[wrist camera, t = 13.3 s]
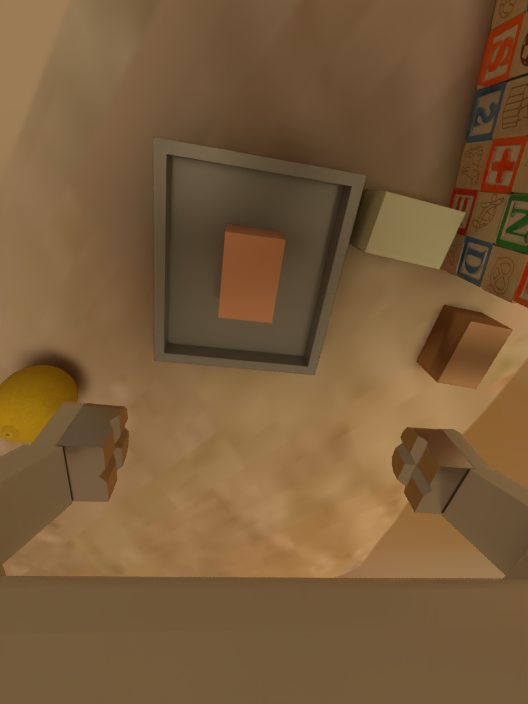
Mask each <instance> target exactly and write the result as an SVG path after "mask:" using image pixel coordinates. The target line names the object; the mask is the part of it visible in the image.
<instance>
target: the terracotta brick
mask: <svg viewBox="0 0 528 704" xmlns="http://www.w3.org/2000/svg"><path fill="white" fill-rule="evenodd" d="M285 241H286V240H285V239H284V237H283V236H282V235H281V233H280V232H279V231H273V230H266V229H259V228H252V227H245V226H238V225H230V224H227V225H226V231H225V241H224V253H223V265H222V277H221V289H220V301H219V313H218V318H228V319H237V320H247V321H257V322H267V323H272V320H273V314H274V308H275V302H276V296H277V290H278V284H279V278H280V271H281V265H282V259H283V253H284V247H285Z"/></svg>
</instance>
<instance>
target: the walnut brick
mask: <svg viewBox="0 0 528 704" xmlns="http://www.w3.org/2000/svg"><path fill="white" fill-rule="evenodd" d="M511 332H512V329H510V328H509V327H507V326H505V325H503V324H501V323H500V322H498V321H496V320H494V319H492V318H490V317H489V316H487V315H485V314H483V313H480V312H476V311H471V310H466V309H461V308H457V307H452V306H447V305H444V307H443V309H442V311H441V313H440V315H439V317H438V319H437V321H436V323H435V325H434V327H433V329H432V331H431V333H430V335H429V337H428V339H427V341H426V343H425V345H424V347H423V349H422V351H421V353H420V355H419V357H418V359H417V362H418V363H419V364H420V365H421V366H422V367H423V368H424V369H425V370H426V371H427V372H428V373H429V374H430V375H431V376H432V377H433V378H434V379H435V381H436V382H437V383H443V384H450V385H456V386H462V387H468V388H474V389H476V388H477V387H478V385H479V383H480V382H481V380H482V379H483V377H484V375H485V374H486V372H487V371H488V369H489V367H490V366H491V364H492V362H493V361H494V359H495V358H496V356H497V354H498V353H499V351H500V350H501V348H502V346H503V345H504V343H505V341H506V340H507V338H508V337H509V335H510V333H511Z"/></svg>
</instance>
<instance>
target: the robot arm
mask: <svg viewBox="0 0 528 704" xmlns="http://www.w3.org/2000/svg"><path fill="white" fill-rule="evenodd" d="M127 420H128V414H127V408H126V407H123V406H112V405H102V404H91V403H87V404H86V403H77V402H65V403H63V404H62V405H61V406H60V407H59V409H58V410H57V411H56V413H55V414H54V415H53V416H52V418H51V419H50V420H49V422H48V423H47V424H46V426H45V427H44V428H43V430H42V431H41V432H40V433H39V435H38V436H37V437H36V439H35V440H34V441H33V443H32V444H31V445H22V446H20V447H18V448H17V449H15V450H13V451H11V452H9V453H7V454H5V455H3V456H1V457H0V704H528V489H526V488H525V487H523V486H522V485H520V484H518V483H517V482H515V481H513V480H512V479H510V478H508V477H506V476H505V475H503V474H502V473H500V472H499V471H495V470H492V469H491V468H490V467H489V466H488V465H487V464H486V463H485V462H484V460H483V459H482V458H481V457H480V456H479V455H478V453H477V452H476V451H475V450H474V449H473V448H472V446H471V445H470V444H469V443H468V442H467V441H466V439H465V438H464V437H463V436H462V435H461V434H460V433H459V432H458V431H456V430H453V429H427V428H412V427H407V428H406V429H405V430H404V431H403V433H402V435H401V440H402V444H400V445H399V446H398V447H396V448H395V450H394V453H393V456H392V467H393V471H394V474H395V476H396V478H397V480H399V481H400V482H401V483H402V484H404V485H405V490H404V493H405V495H406V497H407V499H408V501H409V503H410V504H411V506H412V508H413V510H414V512H420V513H434V514H443V515H442V516H443V517H444V518H445V519H446V520H447V521H448V522H450V523H451V524H452V525H453V526H454V527H455V528H456V529H457V530H458V531H459V532H460V533H461V534H462V535H463V536H465V538H467V539H468V540H469V541H470V542H471V543H472V544H473V545H474V546H475V547H476V548H477V549H478V550H479V551H480V552H481V553H482V554H483V555H485V556H486V557H487V558H488V559H489V560H490V561H491V562H492V563H493V564H494V565H495V566H496V567H497V568H498V569H499V570H501V571H502V572H503V573H504V574H505V575H506V576H505V577H504V578H503V579H471V578H465V579H464V578H276V577H106V576H6V574H5V571H4V568H3V566H2V564H3V563H5V562H6V561H7V560H8V559H9V558H10V557H11V556H13V555H14V554H15V553H16V552H17V551H18V550H19V549H21V548H22V547H23V546H24V545H25V544H26V543H27V542H29V541H30V540H31V539H32V538H33V537H34V536H35V535H37V534H38V533H39V532H40V531H41V530H42V529H43V528H45V527H46V526H47V525H48V524H49V523H50V522H51V521H53V520H54V519H55V518H56V517H57V516H58V515H60V514H61V513H62V512H63V511H64V510H65V509H66V508H68V507H69V506H70V505H71V504H72V501H98V502H109V499H110V497H111V494H112V492H113V489H114V487H115V484H116V482H117V470H118V469H119V468H121V467H122V466H123V464H124V461H125V458H126V454H127V450H128V443H129V431H128V430H127V429H126V428H125V424H126V422H127Z"/></svg>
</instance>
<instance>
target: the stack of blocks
mask: <svg viewBox="0 0 528 704" xmlns="http://www.w3.org/2000/svg"><path fill="white" fill-rule="evenodd" d="M449 208H451V209H455V210H458V211H462V212H466V213H465V215H464V217H463V220H462V222H461V224H460V226H459V228H458V230H457V233H456V235H455V237H454V239H453V241H452V243H451V245H450V248H449V250H448V252H447V254H446V256H445V258H444V261H443V263H442V265H441V267H440V269H442V270H445V271H447V272H449V273H451V274H453V275H457V276H459V277H461V278H463V279H465V280H467V281H469V282H471V283H473V284H475V285H477V286H479V287H482V289H484V290H485V291H488V292H489V293H492V294H494V295H496V296H498V297H500V298H502V299H504V300H507V301H509V302H511V303H519V304H521V305H523V306H525V307H527V308H528V0H497V2H496V6H495V10H494V15H493V19H492V24H491V32H490V34H489V37H488V41H487V45H486V49H485V54H484V58H483V62H482V66H481V70H480V75H479V80H478V83H477V93H476V97H475V101H474V105H473V110H472V114H471V118H470V123H469V127H468V132H467V136H466V144H465V146H464V150H463V154H462V159H461V163H460V168H459V172H458V176H457V181H456V186H455V189H454V190H453V194H452V198H451V203H450V207H449Z"/></svg>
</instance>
